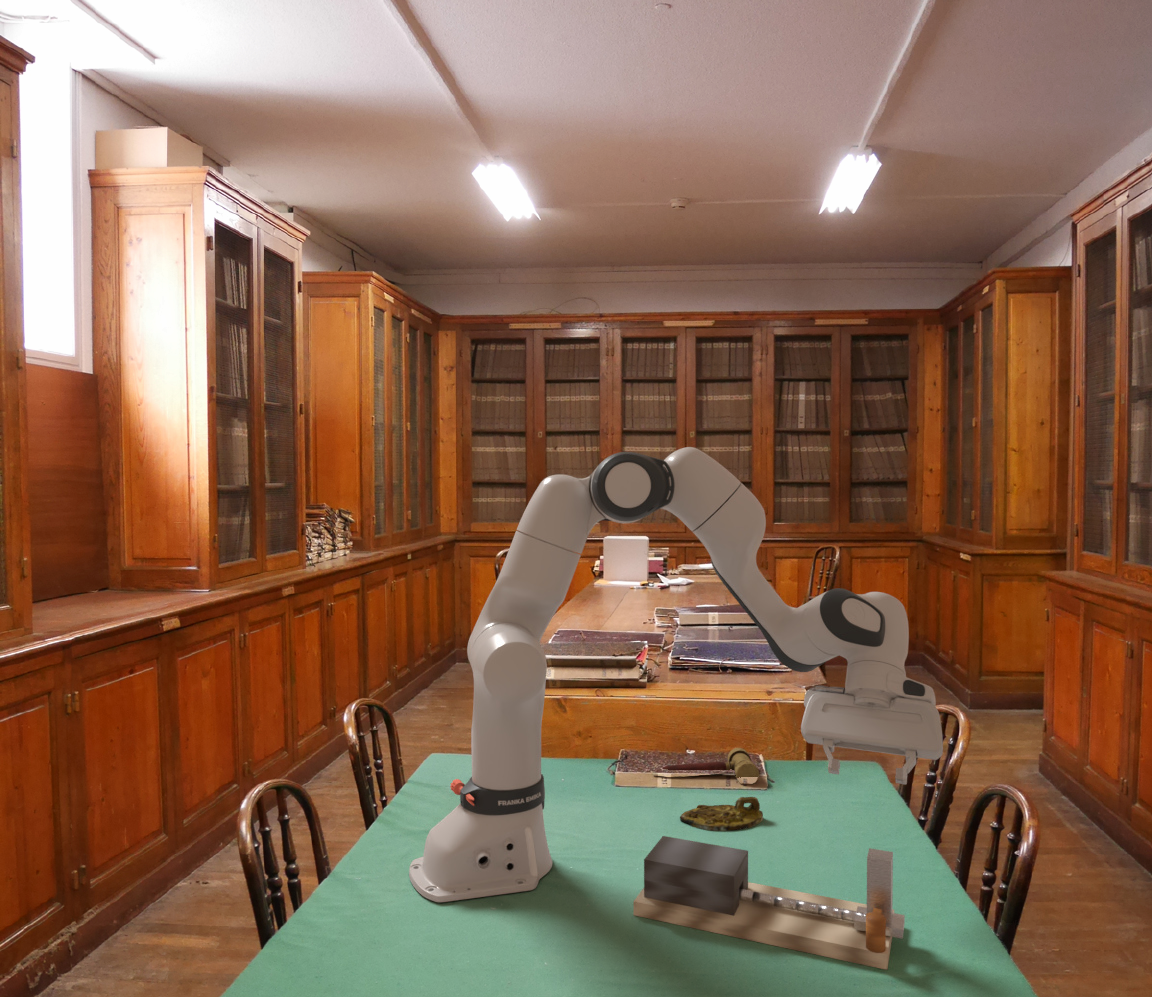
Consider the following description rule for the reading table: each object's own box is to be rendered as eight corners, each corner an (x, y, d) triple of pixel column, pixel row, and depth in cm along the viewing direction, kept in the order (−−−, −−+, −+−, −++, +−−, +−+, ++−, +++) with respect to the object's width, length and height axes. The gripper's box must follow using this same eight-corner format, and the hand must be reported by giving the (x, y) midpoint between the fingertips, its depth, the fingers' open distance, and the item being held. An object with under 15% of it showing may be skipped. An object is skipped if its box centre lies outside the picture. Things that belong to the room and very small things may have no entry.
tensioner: (633, 915, 124) (632, 863, 124) (660, 878, 135) (660, 830, 135) (887, 970, 110) (887, 912, 110) (894, 923, 121) (894, 870, 121)
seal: (686, 840, 152) (770, 834, 153) (686, 815, 151) (771, 809, 153) (674, 813, 161) (753, 808, 163) (674, 789, 160) (754, 784, 162)
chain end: (729, 903, 123) (729, 835, 122) (735, 890, 126) (735, 824, 126) (902, 938, 113) (903, 865, 113) (904, 923, 117) (905, 852, 117)
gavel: (653, 770, 174) (649, 753, 184) (655, 793, 174) (650, 775, 184) (758, 762, 174) (748, 746, 184) (760, 785, 174) (749, 767, 184)
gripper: (803, 674, 138) (791, 758, 130) (944, 689, 129) (940, 779, 122) (808, 692, 143) (797, 774, 135) (945, 707, 134) (941, 796, 126)
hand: (866, 777), depth 128 cm, fingers open, 8 cm apart
